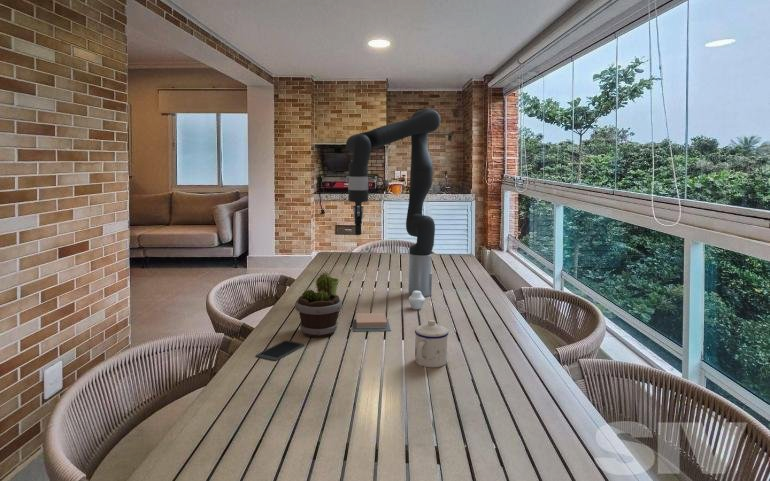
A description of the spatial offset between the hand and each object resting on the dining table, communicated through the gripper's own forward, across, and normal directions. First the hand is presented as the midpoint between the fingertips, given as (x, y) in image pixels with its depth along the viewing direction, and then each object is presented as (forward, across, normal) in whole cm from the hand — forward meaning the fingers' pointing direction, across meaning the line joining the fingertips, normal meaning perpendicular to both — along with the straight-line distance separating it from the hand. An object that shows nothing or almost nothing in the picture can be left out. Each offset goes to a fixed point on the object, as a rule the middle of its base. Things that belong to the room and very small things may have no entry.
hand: (358, 234), depth 186 cm
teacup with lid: (+27, -60, -18) cm, 68 cm away
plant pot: (+27, +2, +12) cm, 30 cm away
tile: (+26, -21, -4) cm, 34 cm away
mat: (+27, -28, -4) cm, 39 cm away
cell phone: (+28, -49, +23) cm, 61 cm away
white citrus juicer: (+27, -8, -22) cm, 36 cm away
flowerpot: (+27, -34, +13) cm, 45 cm away
